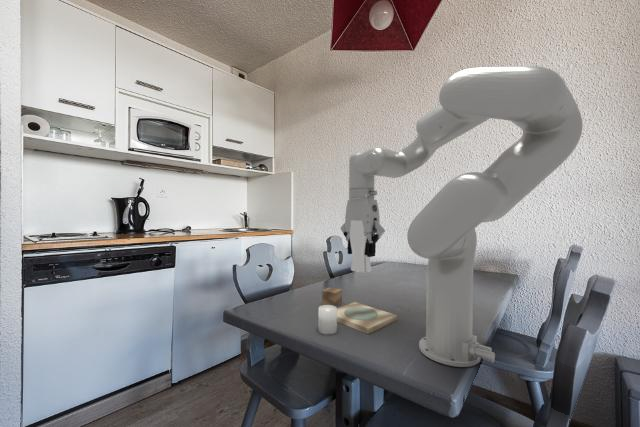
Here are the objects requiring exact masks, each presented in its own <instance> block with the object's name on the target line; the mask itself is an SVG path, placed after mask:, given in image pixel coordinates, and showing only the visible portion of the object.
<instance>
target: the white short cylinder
mask: <svg viewBox="0 0 640 427" xmlns="http://www.w3.org/2000/svg"><path fill="white" fill-rule="evenodd" d="M337 308H338V306H337V307H335V306H333V305H322V304H321V305H319V307H318V317H317V319H318V324H317V325H318V330H317V331H318V332H319V333H320V334H323V335H333V334H335V333H337V331H338V322H337Z"/></svg>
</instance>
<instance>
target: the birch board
mask: <svg viewBox="0 0 640 427" xmlns="http://www.w3.org/2000/svg"><path fill="white" fill-rule="evenodd" d="M396 321H398V315H397V314H394V313H392V312H388V311H385V310H381V309H379V308H376V307H372V306H369V305H366V304H362V303H359V302H355V301H354V302H351V303H348V304H346V305H343V306H340V307H339V306H338V307H337V323H339V324H342V325H344V326H346V327H348V328H352V329H354V330H356V331H358V332H361V333H363V334H366V335H369V334H371V333H374V332H375V331H378V330H380V329H382V328H384V327H387V326H389V325H390V324H392V323H394V322H396Z"/></svg>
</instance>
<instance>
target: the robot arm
mask: <svg viewBox="0 0 640 427" xmlns="http://www.w3.org/2000/svg"><path fill="white" fill-rule="evenodd" d="M438 94H439V95H438V100H439V101H438V102H439V104H438V105H437V106H435V107H434V108H433V109H431V110H430V111H428V112H427V113H426V114H424V115H423V116H421V117H420V118H418V120H417V121H416V123H415V125H416V126H415V127H416V133H417V136H416V137H415V139H414V140H413V141H412V142H411V143H410V144H408V145H407V146H405V147H404V148H402V149H400V150H398V151H396V150H392V149H388V148H387V149H386V148H384V147H372V148H370V149H368V150H366V151H364V152H358V153H357V152H356V153H353V154H352V155H351V156H350V157H349V159H348V160H349V161H348V164H349V165H348V173H349V175H348V177H349V178H348V200H347V201H346V202H347V203H346V207H345V217H344V218H345V219H344V220H345V221H344V223H343V224H342V226H340V230H341V232H342V234H343V236H344V237H345V241H347V254H348V255H352V250H351V244H350V220H362V222H363V227H364V232H365V233H366V234H367V239H368V241H369V243H367V257H370V258H372V257H376V249H377V248H376V245H377V243H378V241H379V239H381V237H382V236H383V235H384V233H385V232H386V230H385V228H384V227H383V226H382V225H381V222H380V221H381V220H380V211H379V205H378V200H377V199H375V196H377V195H378V191H377V190H375V177H376V176H377V177H385V178H389V179H390V178H391V179H392V178H393V179H398V178H401V177H404V176H406V175H408V174H410V173H411V172H413V171H415V170H417V169H419V168H420V167H422V166H423V165H424V164H425V163H427V162H428V161H429V160H430V159H431V158H432V157H433V155H434V153H435V152H436V151H437V150H438V149H440V148H441V147H443V146H445V145H447V144H448V143H450V142H452V141H453V140H455V139H457V138H459V137H460V136H462V135H464V134H465V133H468V132H469V131H471V130H473V129H474V128H476V127H478V126H480V125H481V124H483V123H485V122H487V121H488V120H490V119H496V120H503V121H510V122H511V123H512V124H514V125H515V126H516V127H519V128H520V129H521V131H522V135H521V137H520V138H519V139H518V140H517V141H515V143H513V144H511V145H510V146H509V147H508V148H506V149H505V150H504V151H503V152H502V153H501V154H500V155H499V156H497V158H496V160H495V161H493V162H492V163H491V164H490V165H489V166H488V167H487V168H486V169H484V171H483V172H478V171H477V172H476V171H475V172H474V171H470V172H465V173H462V174H459V175H457V176H456V177H454V178H452V179H451V180H450V181H449V182H447V183H446V184H445V185H444V186H443V187H442V188H441V189H440V190H439V191H438V192H437V193H436V194H435V195H434V196H433V198H432V199H431V200H429V202H428V203H427V204H426V205H425V206H424V207H423V208H422V209H421V211H420V212H419V213H417V214H416V216H415V217H414V218H413V220H412V221H411V223H410V224H409V227H408V229H407V235H406V236H407V244H408V245H409V248H410V250H411V251H412V252H413V253H414V254H415V255H416V256H418V257H420V258H422V259H427V260H428V262H427V266H426V284H425V285H426V286H425V287H426V288H425V289H426V294H425V295H426V297H425V298H426V299H425V300H426V303H425V304H426V309H425V310H426V312H425V313H426V316H425V317H426V320H425V323H426V324H425V325H426V326H425V336H424V337H421V339H420V340H419V342H418V348H419V350H420V352H421V354H423V355H424V356H425V357H427V358H428V359H430V360H432V361H435V362H437V363H439V364H442V365H446V366H450V367H456V368H469V367H470V368H471V367H474V366H477V365H478V364H480V362H481V359H483V361H487V362H489V363H495V359H496V354H495V352H493V351H492V347H490V346H486V345H483V344H480V342H478V335H474V334H473V332H474V331H473V328H474V327H473V326H474V325H473V321H474V319H473V318H474V317H473V316H474V315H473V313H474V312H473V311H474V309H473V305H474V301H473V299H474V296H473V295H474V292H473V291H474V267H475V264H474V263H475V257H476V251H477V242H478V239H477V238H478V236H477V231H476V228H477V227H479V226H480V225H481V224H482V223H490V222H494V221H498V220H500V219H502V218H503V217H504V216H506V215H507V214H508V213H509V211H511V210H512V209H513V208H514V207H515V206H516V205H517V204H518V203H520V202H521V201H522V200H523V199H524V198H525V197H527V196H528V194H530V193H531V192H533V191H534V190H535V189H536V187H538V186H539V185H540V184H541V183H542V182H543V181H545V179H546V178H548V177H549V176H550V175H551V174H552V173H553V172H555V171H556V170H557V169H558V168H559V167H560V166H561V165H562V164H564V162H565V161H566V160H567V159H568V158H569V157H570V156H571V155H572V153H573V152H574V150H575V149H576V148H577V146H578V144H579V142H580V139H581V137H582V133H583V126H584V125H583V118H582V115H581V111H580V108H579V106H578V104H577V102H576V100H575V98H574V96H573V94H572V93H571V91H570V89H569V88H568V86H567V85H566V82H565V81H564V79H563V77H562V76H561V75H560V74H559V73H558V72H556V71H554V70H553V69H550V68H548V67H544V66H537V65H536V66H534V65H532V66H531V65H530V66H529V65H523V66H519V65H517V66H480V67H479V66H478V67H477V66H476V67H470V68H464V69H461V70H459V71H457V72H455V73H453V74H452V75H451V76H449V77H448V78H447V80H445V82H444V83H443V84H442V86H441V88H440V91H439V93H438ZM371 234H372V237H371Z"/></svg>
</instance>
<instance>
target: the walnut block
mask: <svg viewBox="0 0 640 427" xmlns="http://www.w3.org/2000/svg"><path fill="white" fill-rule="evenodd" d="M321 292H322V293H321V296H322V298H321V306H322V305H333V306H335V307H337V308H338V307H339V306H340V305H342V304H343V289H341V288H335V287H331V286H330V287H327V288H325V289H323V290H322V291H321ZM338 305H339V306H338Z"/></svg>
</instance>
